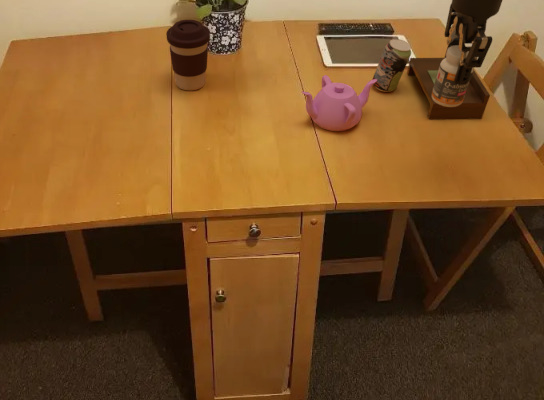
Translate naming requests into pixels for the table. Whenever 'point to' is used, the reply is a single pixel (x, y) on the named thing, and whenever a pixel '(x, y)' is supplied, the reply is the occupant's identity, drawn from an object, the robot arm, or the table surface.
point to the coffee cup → (189, 53)
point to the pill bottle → (449, 80)
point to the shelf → (467, 109)
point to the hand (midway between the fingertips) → (454, 73)
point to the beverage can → (392, 65)
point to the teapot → (337, 105)
